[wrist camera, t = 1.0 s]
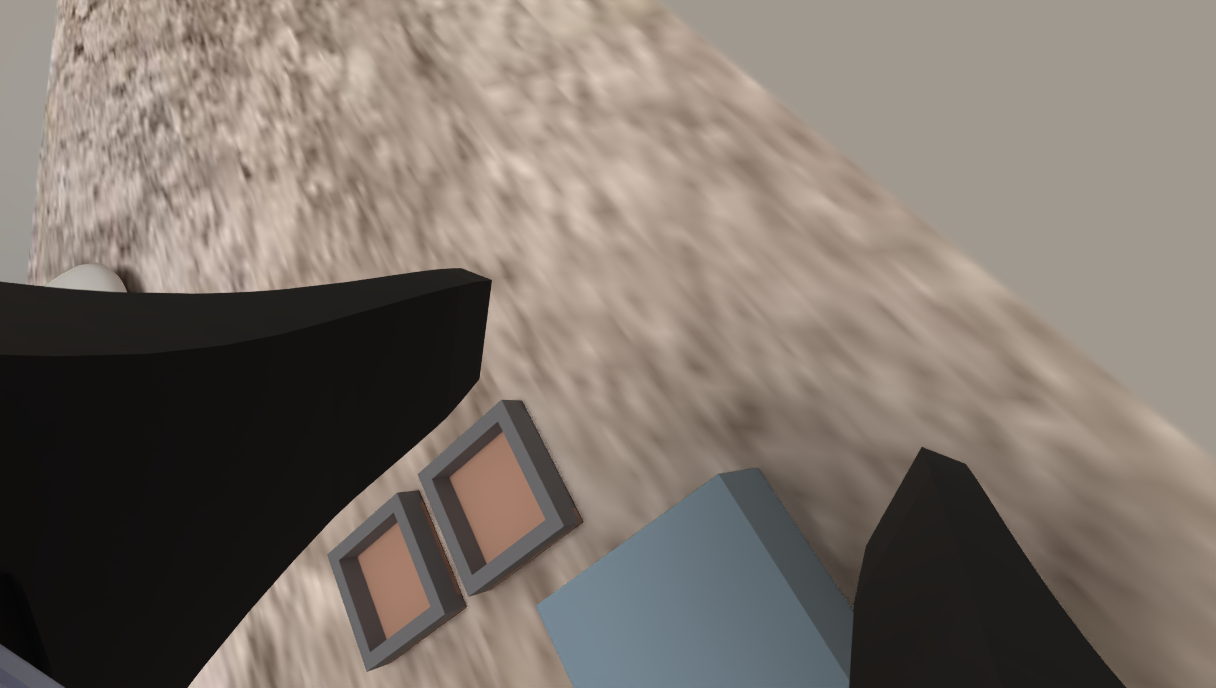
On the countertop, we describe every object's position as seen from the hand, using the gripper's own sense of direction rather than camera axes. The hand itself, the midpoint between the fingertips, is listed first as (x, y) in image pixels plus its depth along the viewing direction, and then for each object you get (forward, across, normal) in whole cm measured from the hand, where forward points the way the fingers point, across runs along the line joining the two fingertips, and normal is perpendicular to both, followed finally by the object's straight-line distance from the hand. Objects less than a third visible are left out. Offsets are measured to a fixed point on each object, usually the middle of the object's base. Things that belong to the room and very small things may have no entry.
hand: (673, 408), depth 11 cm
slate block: (+7, -3, +12) cm, 15 cm away
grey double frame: (+9, +9, +17) cm, 21 cm away
